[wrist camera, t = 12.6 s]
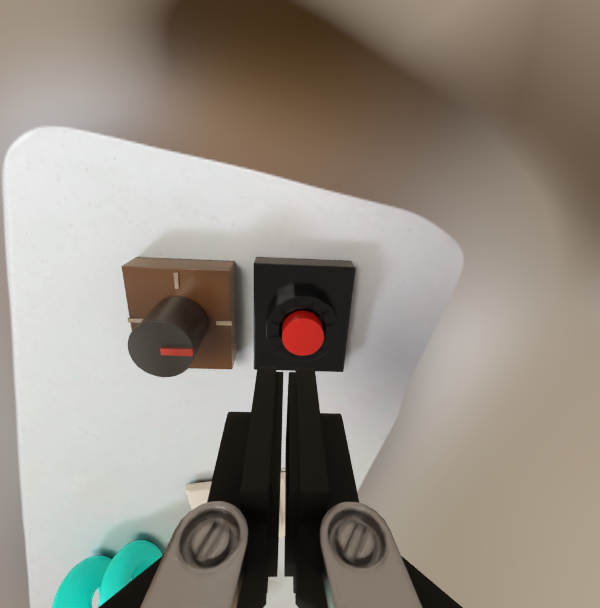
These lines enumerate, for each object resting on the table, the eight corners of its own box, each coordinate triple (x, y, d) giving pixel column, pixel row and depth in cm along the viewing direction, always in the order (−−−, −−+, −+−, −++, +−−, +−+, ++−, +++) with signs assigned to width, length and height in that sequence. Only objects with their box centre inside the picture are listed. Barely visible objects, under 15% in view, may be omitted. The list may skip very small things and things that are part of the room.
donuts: (180, 562, 48) (155, 656, 39) (122, 582, 50) (85, 677, 41) (139, 521, 45) (100, 613, 36) (78, 543, 46) (25, 638, 37)
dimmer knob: (155, 344, 31) (130, 378, 26) (149, 294, 29) (121, 321, 24) (209, 346, 31) (195, 380, 27) (207, 297, 30) (191, 323, 25)
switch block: (256, 256, 31) (251, 269, 28) (351, 260, 32) (359, 273, 28) (255, 358, 36) (252, 380, 32) (340, 360, 36) (346, 382, 32)
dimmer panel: (135, 256, 31) (119, 266, 28) (235, 260, 31) (230, 271, 29) (148, 350, 35) (135, 367, 32) (237, 353, 35) (233, 370, 32)
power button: (283, 309, 30) (282, 317, 28) (323, 311, 30) (325, 319, 28) (281, 345, 31) (281, 355, 29) (320, 346, 31) (322, 356, 30)
